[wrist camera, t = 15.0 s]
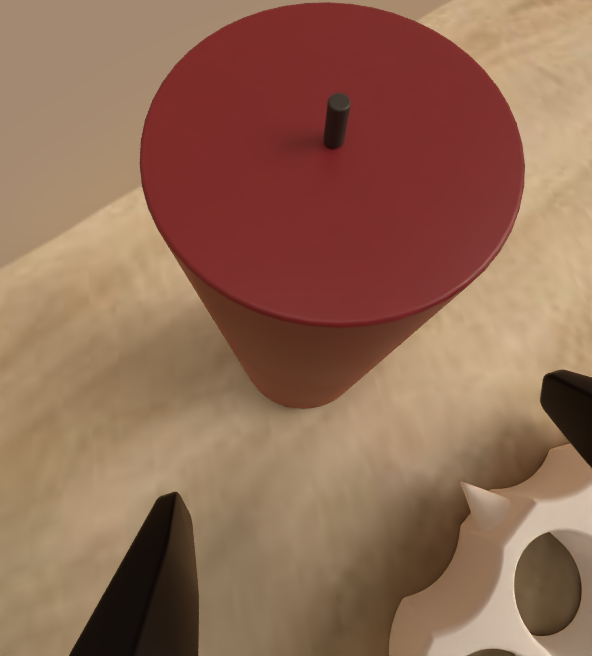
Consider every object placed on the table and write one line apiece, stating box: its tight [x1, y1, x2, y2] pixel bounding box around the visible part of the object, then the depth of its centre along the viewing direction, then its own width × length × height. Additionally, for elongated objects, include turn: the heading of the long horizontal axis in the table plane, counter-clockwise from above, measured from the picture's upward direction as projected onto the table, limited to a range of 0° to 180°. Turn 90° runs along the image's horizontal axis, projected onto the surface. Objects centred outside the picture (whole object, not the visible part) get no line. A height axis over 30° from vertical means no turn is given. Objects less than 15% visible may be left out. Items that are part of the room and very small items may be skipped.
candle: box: [140, 2, 525, 409], centre depth 12 cm, size 6×6×14 cm
